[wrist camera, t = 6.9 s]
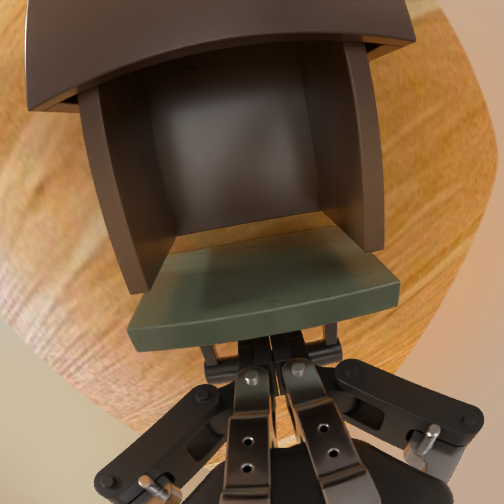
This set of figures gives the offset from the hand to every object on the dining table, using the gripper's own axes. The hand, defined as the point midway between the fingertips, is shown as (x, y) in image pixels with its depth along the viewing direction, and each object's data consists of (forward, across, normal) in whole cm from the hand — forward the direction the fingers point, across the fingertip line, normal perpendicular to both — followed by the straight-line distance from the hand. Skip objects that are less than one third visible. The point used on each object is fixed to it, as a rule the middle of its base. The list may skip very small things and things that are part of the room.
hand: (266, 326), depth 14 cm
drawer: (+3, 0, -7) cm, 7 cm away
